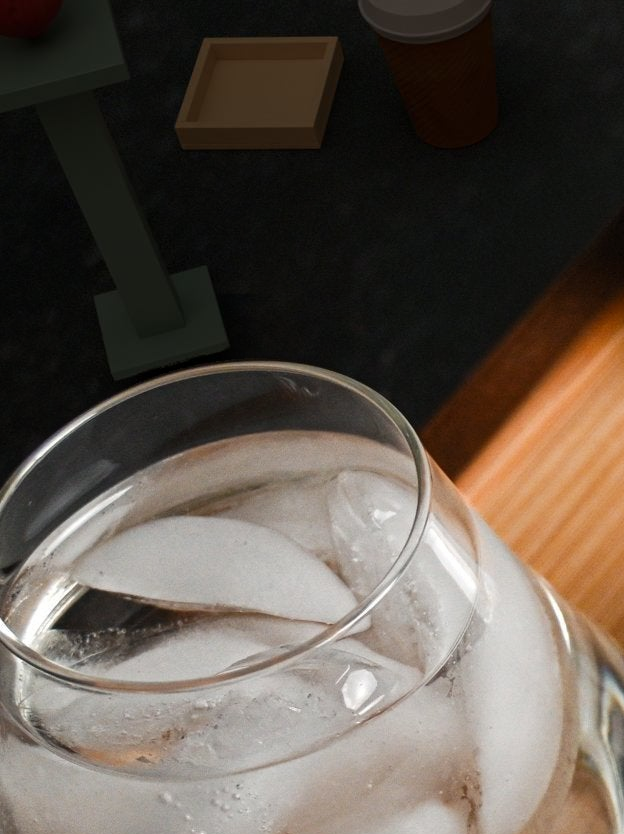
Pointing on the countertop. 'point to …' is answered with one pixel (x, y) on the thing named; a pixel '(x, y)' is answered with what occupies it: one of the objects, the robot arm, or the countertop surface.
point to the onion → (27, 17)
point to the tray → (260, 93)
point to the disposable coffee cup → (440, 65)
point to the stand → (109, 191)
